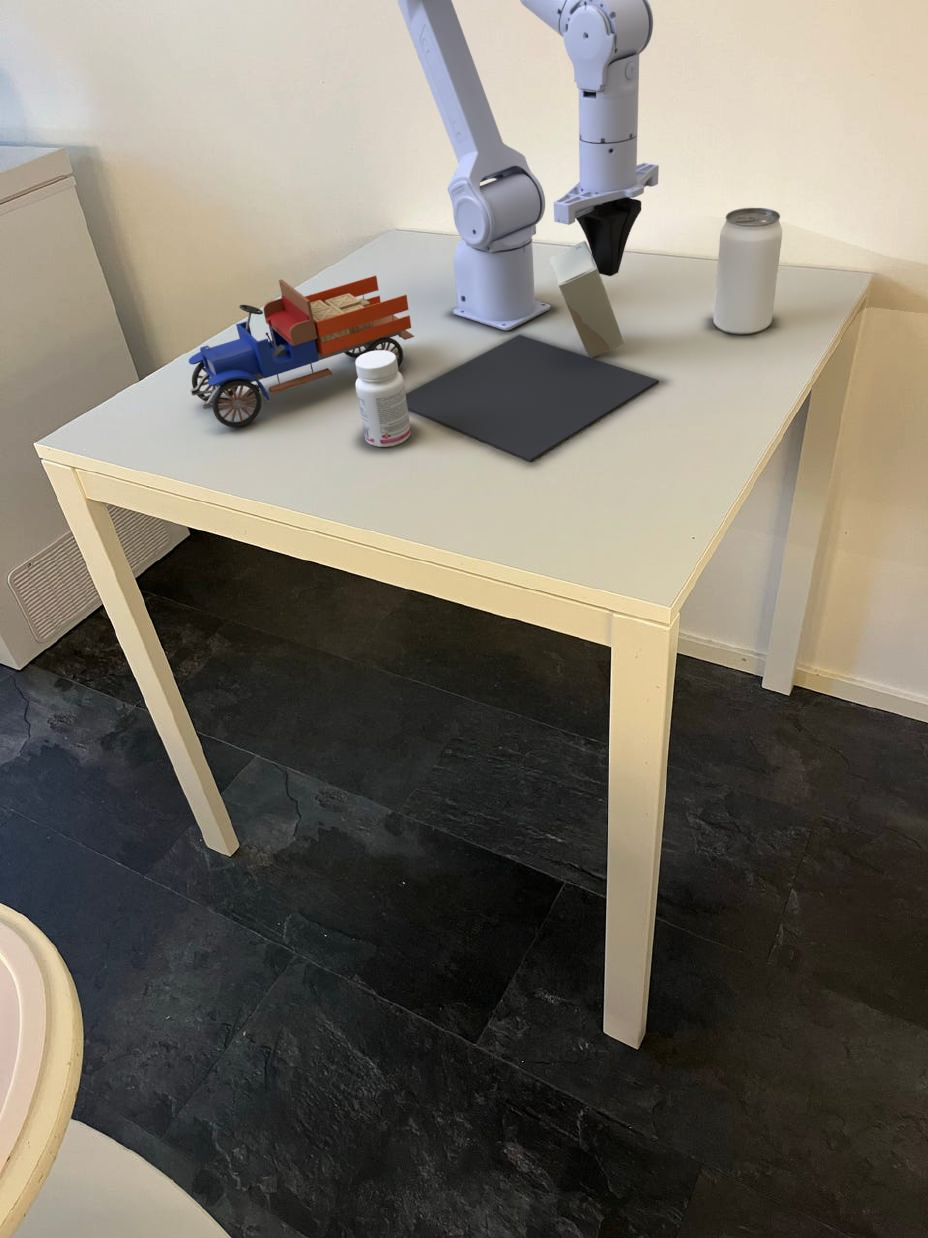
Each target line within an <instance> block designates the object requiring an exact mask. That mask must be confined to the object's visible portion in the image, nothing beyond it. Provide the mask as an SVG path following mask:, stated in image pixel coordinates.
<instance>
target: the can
mask: <svg viewBox="0 0 928 1238" xmlns="http://www.w3.org/2000/svg"><path fill="white" fill-rule="evenodd" d="M780 219H781V214H780V213H779V211H776V210H774V209H770V208H766V207H742V208H738V209H733V210H732V211H730V212H728V213H727V214H726V215H725V222H724V224H723V225H722V226H721V227H722V228H721V229H720V233H719V234H720V235H719V244H718V256H717V266H716V267H717V269H716V278H715V279H716V280H715V290H714V291H715V293H714V304H713V305H714V306H713V318H712V319H713V320H712V321H713V324H714V325H715V326H716V328H717V329H718V330H719V331H722V332H724V333H727V334H731V335H752V334H753V335H754V334H757V333H761V332H762V331H764V330H766V329H767V328H768V327H769V326H770V325H771V324H772V320H773V313H774V307H775V299H776V289H777V280H778V273H779V266H780V257H781V250H782V249H781V248H782V239H783V228H782V224H781V222H780Z"/></svg>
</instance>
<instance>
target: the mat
mask: <svg viewBox="0 0 928 1238" xmlns="http://www.w3.org/2000/svg"><path fill="white" fill-rule="evenodd" d="M659 381H660V380H659V379H657V378H654V377H651V376H648V375H646V374H645V375H644V374H642V373H640V372H639V373H638V372H635V371H632V370H629V369H626V368H624V367H620V366H617V365H614V364H612V363H608V362H605V361H601V360H598V359H596V358H594V357H592V358H589V357H588V356H586V355H583V354H580V353H577V352H574V351H571V350H568V349H564V348H561V347H558V346H555V345H552V344H549V343H547V342H543V341H540V340H537V339H535V338H532V337H531V338H530V337H527V336H525V335H522V334H518V335H516V336H514V337H513V338H511V339H508V340H507V341H504V342H503V343H501V344H499V345H497V346H495V347H493V348H491V349H490V350H487V351H486V352H484V353H482V354H480V355H477V356H476V357H474V358H471V359H470V360H469V361H466V362H465V363H463V364H461V365H459V366H457V367H455V368H453V369H451V370H449V371H448V372H445V373H444V374H442V375H439V376H438V377H436V378H434V379H431V380H430V381H428V382H426V383H424V384H422V385H420V386H418V387H417V388H415V389H413V390H411V391H409V392H407V393H406V400H407V407H408V411H410V412H411V413H414V414H416V415H419V416H421V417H424V418H426V419H428V420H431V421H432V422H435V423H438V424H440V425H442V426H444V427H447V428H449V429H452V430H454V431H456V432H459V433H461V434H463V435H465V436H468V437H470V438H473V439H475V440H478V441H480V442H482V443H485V444H487V445H490V446H492V447H493V448H496V449H498V450H501V451H503V452H505V453H508V454H510V455H513V456H515V457H518V458H520V459H522V460H524V461H527V462H528V463H531V462H532V463H533V461H535V460H537V459H538V458H540V457H542V456H543V455H545V454H546V453H548V452H549V451H551V450H552V449H554V448H556V447H558V446H559V445H561V444H562V443H564V442H565V441H567V440H568V439H571V438H572V437H573V436H575V435H577V434H578V433H580V432H582V431H583V430H585V429H586V428H588V427H589V426H591V425H593V424H594V423H596V422H597V421H599V420H601V419H602V418H604V417H605V416H607V415H609V414H610V413H612V412H614V411H615V410H617V409H619V408H620V407H622V406H623V405H625V404H626V403H628V402H630V401H632V400H633V399H634V398H636V397H637V396H639V395H641V394H642V393H644V392H646V391H648V390H649V389H650V388H652V387H654V386H656V385H657V384H658V383H660V382H659Z"/></svg>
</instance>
